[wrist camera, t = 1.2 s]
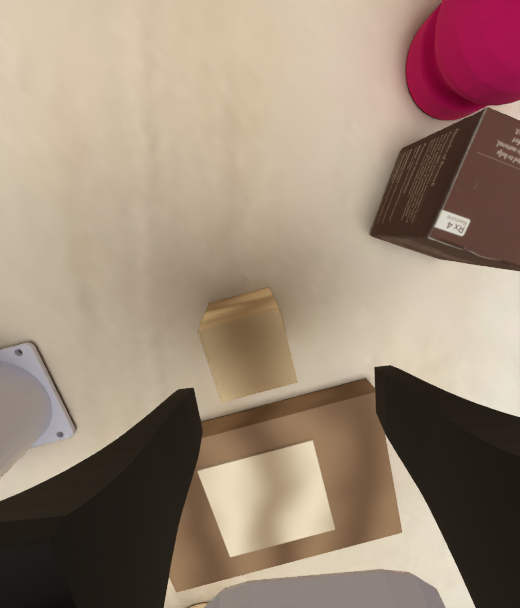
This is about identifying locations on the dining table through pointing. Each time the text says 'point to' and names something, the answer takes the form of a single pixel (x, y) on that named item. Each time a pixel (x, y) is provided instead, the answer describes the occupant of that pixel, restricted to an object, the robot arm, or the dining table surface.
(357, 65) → the dining table surface
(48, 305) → the dining table surface
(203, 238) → the dining table surface
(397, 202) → the box
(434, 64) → the pepper mill
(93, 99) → the dining table surface
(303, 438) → the walnut board
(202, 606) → the beer glass
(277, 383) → the maple block
